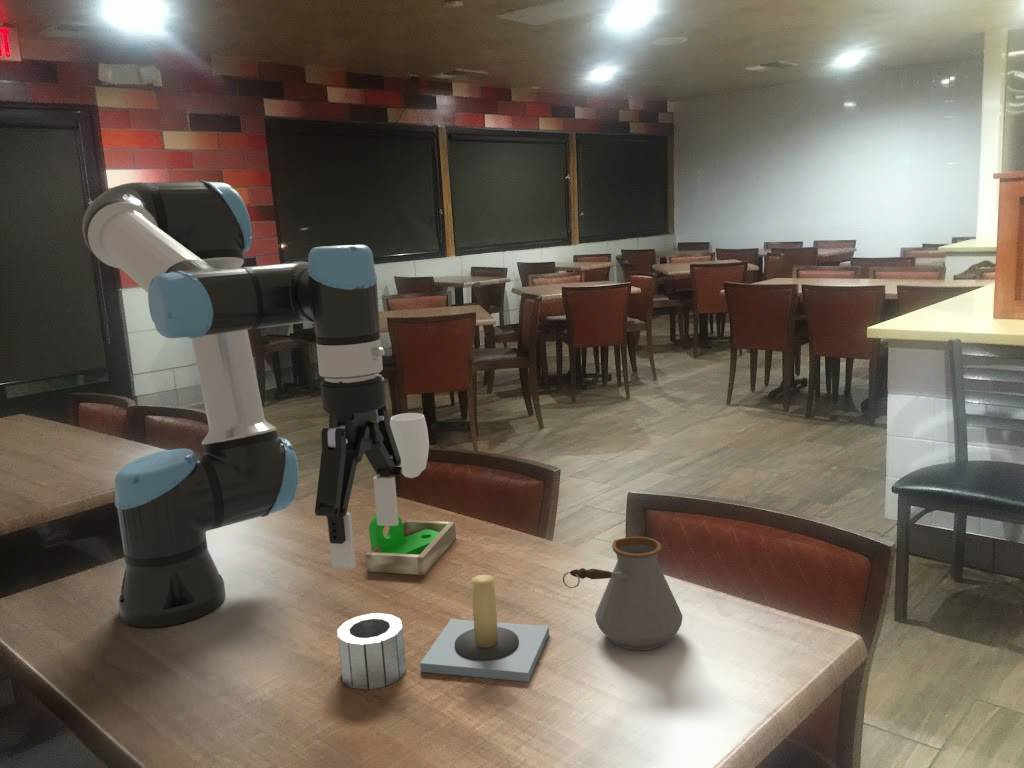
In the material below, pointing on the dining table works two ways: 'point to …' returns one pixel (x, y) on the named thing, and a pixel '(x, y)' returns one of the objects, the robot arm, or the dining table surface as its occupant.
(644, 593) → the coffee pot
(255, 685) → the dining table surface
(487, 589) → the square base plate
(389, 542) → the mechanical part
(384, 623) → the ring
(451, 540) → the parts corral
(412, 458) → the white rounded tapered piece
